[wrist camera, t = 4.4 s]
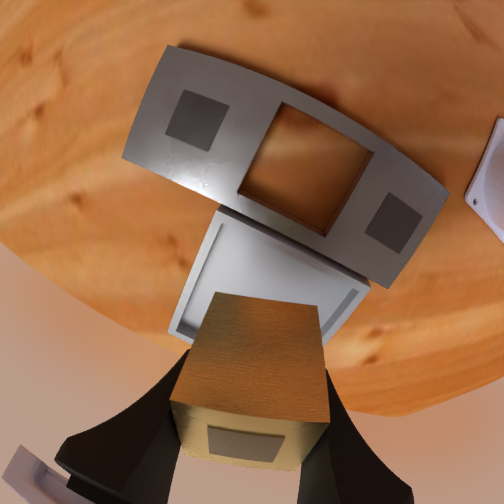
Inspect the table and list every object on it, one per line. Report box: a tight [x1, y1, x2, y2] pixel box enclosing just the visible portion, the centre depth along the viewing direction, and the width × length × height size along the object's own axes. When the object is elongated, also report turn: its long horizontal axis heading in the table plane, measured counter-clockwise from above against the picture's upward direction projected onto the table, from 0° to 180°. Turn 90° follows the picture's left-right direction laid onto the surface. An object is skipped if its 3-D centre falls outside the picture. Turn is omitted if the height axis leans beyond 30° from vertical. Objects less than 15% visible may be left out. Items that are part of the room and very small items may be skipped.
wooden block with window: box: [169, 291, 330, 471], centre depth 10 cm, size 5×5×6 cm
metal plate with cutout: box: [122, 45, 450, 289], centre depth 15 cm, size 20×8×1 cm, turn 65°
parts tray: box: [167, 204, 371, 346], centre depth 19 cm, size 11×11×2 cm
